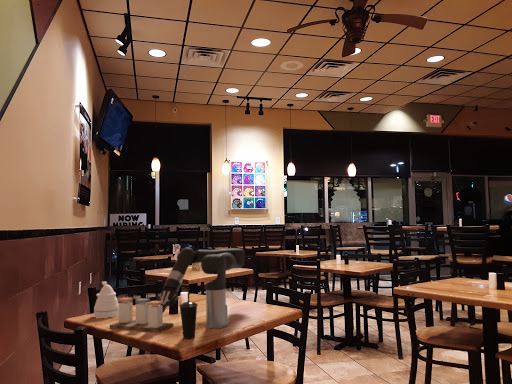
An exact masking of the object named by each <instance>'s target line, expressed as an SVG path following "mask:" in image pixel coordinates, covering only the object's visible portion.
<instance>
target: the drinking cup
mask: <svg viewBox="0 0 512 384" xmlns="http://www.w3.org/2000/svg"><path fill="white" fill-rule="evenodd" d="M179 309H180V317H181V329H182V337H183V339H184V340H193V339H195V338H196V324H197V311H198V310H197V309H198V303H196V302H194V301H190V289H187V301H184V302H183V303H181V304H179Z"/></svg>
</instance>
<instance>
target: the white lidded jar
mask: <svg viewBox="0 0 512 384" xmlns="http://www.w3.org/2000/svg"><path fill="white" fill-rule="evenodd" d="M148 302H151V298H142V297H141V298H137V299H135V320H136V324H147V323H148V307H149V306H151V305H148Z"/></svg>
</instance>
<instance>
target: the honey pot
mask: <svg viewBox="0 0 512 384" xmlns="http://www.w3.org/2000/svg"><path fill="white" fill-rule="evenodd" d="M101 284H102V287H101V289H100V291H99V293H96V297H97V298H96V301H95V305H94V307H93V317H94V316H95V317H98V318H104V319H109V318H108V317H112V318H116V317H119V316H118V315H119V302H118V298H117V296H116V294H117V293H116V292H115V291H114V289H113V287H112V286H111V285H110V284H108V282H107V281H101ZM115 316H116V317H115ZM98 318H97V319H98Z"/></svg>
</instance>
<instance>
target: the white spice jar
mask: <svg viewBox="0 0 512 384" xmlns="http://www.w3.org/2000/svg"><path fill="white" fill-rule="evenodd" d="M133 300H134V297H121V298H117V301H118V304H119V316H118V322H122V323H128V322H131V321H133V320H134V318H133V316H134V315H133V313H134V311H133V309H134V308H133V306H134V305H133Z"/></svg>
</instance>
